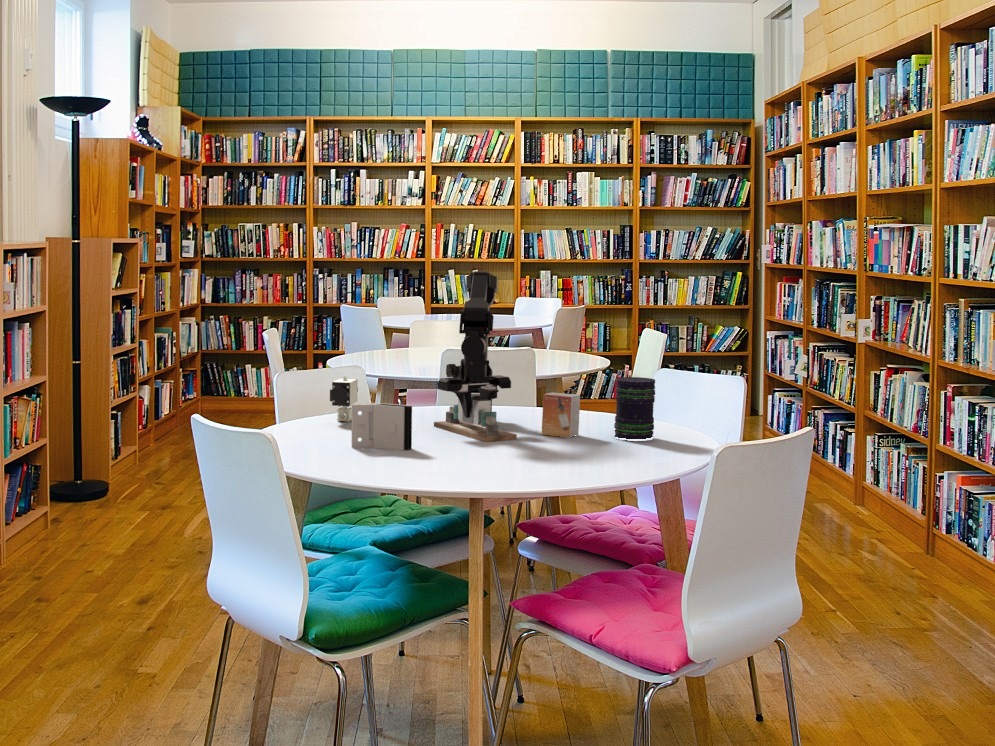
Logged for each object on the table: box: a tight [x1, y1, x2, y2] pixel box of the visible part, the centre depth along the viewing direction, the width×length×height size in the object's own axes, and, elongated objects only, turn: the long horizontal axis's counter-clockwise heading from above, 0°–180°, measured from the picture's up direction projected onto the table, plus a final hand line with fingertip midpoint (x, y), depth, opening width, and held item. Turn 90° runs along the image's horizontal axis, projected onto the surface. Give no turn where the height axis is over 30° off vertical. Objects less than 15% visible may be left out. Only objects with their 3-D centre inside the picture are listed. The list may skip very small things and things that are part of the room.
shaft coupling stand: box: [433, 404, 518, 443], centre depth 271 cm, size 9×26×6 cm, turn 32°
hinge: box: [351, 402, 413, 451], centre depth 248 cm, size 14×5×10 cm, turn 80°
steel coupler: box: [457, 396, 491, 425], centre depth 271 cm, size 10×4×6 cm, turn 32°
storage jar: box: [613, 376, 656, 439], centre depth 267 cm, size 10×10×15 cm
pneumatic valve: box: [329, 375, 359, 423], centre depth 286 cm, size 6×12×12 cm, turn 174°
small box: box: [541, 391, 581, 438], centre depth 270 cm, size 8×6×10 cm
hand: (474, 417), depth 271 cm, fingers closed on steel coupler, 4 cm apart
